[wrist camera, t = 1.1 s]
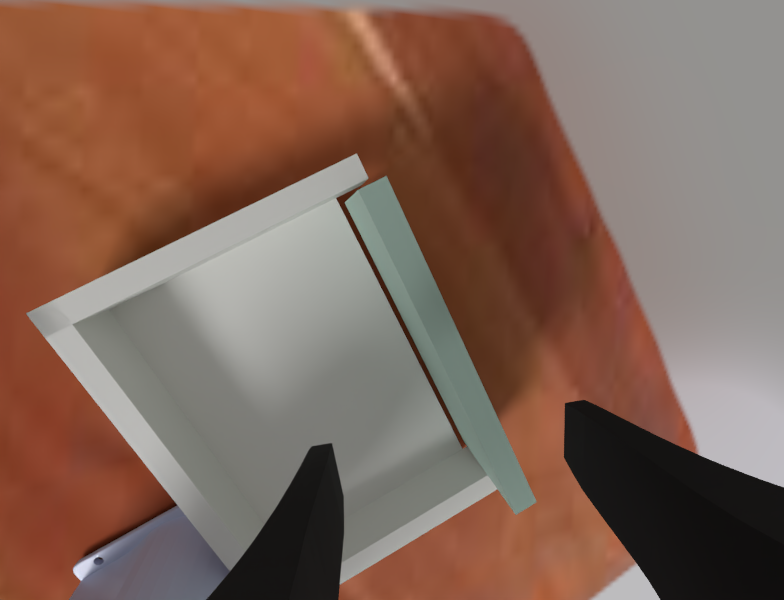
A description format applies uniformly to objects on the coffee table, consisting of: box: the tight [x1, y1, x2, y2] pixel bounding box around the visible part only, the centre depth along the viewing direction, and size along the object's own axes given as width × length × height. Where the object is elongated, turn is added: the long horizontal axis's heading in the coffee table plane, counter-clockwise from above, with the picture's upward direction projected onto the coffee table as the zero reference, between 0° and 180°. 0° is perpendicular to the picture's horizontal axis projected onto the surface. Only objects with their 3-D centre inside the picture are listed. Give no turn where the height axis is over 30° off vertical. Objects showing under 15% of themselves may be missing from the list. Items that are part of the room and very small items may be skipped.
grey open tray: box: [26, 154, 497, 584], centre depth 21 cm, size 16×20×4 cm
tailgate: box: [345, 176, 536, 514], centre depth 19 cm, size 1×17×6 cm, turn 26°
